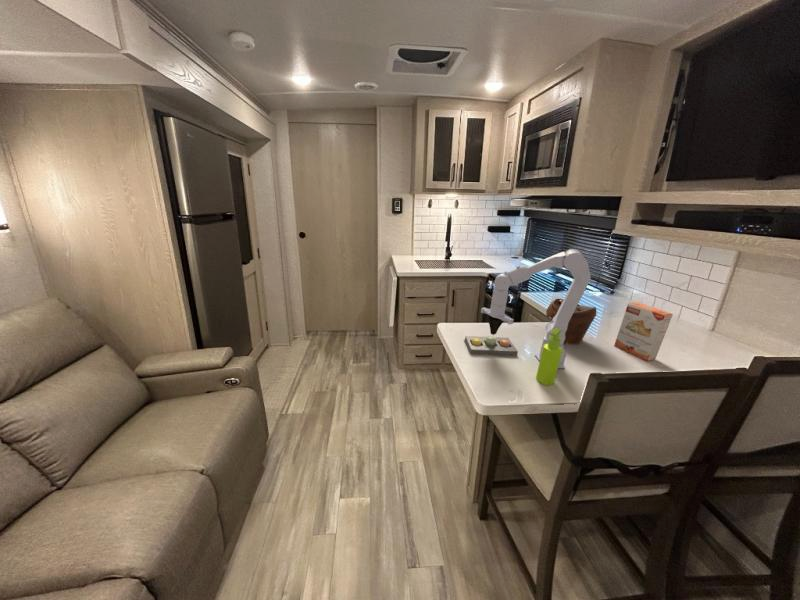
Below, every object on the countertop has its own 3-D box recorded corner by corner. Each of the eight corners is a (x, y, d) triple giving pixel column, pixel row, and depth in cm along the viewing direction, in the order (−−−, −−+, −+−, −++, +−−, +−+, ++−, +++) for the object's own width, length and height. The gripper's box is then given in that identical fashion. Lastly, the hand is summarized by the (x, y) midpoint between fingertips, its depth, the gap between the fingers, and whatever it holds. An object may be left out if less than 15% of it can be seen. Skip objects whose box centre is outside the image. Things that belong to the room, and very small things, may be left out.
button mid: (496, 346, 126) (497, 340, 125) (486, 346, 126) (487, 340, 125) (493, 342, 130) (494, 336, 129) (484, 341, 130) (485, 335, 129)
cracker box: (613, 346, 135) (627, 302, 128) (621, 344, 138) (636, 301, 130) (647, 362, 123) (664, 314, 116) (656, 359, 125) (673, 313, 118)
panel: (517, 355, 123) (517, 351, 122) (470, 353, 123) (471, 349, 122) (507, 341, 134) (508, 337, 134) (464, 340, 134) (465, 335, 133)
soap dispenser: (532, 380, 107) (543, 329, 100) (539, 373, 111) (551, 324, 104) (549, 388, 103) (562, 336, 96) (556, 380, 107) (569, 330, 101)
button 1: (481, 349, 126) (482, 342, 125) (472, 348, 126) (473, 342, 125) (479, 344, 130) (480, 338, 129) (470, 344, 130) (471, 337, 129)
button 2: (510, 350, 127) (511, 343, 126) (500, 349, 127) (501, 343, 126) (506, 345, 130) (508, 339, 129) (497, 345, 130) (498, 339, 129)
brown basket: (539, 325, 152) (547, 292, 146) (584, 333, 146) (594, 299, 140) (543, 341, 137) (552, 305, 130) (592, 351, 131) (604, 313, 124)
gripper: (520, 307, 118) (514, 338, 123) (490, 296, 129) (485, 325, 134) (509, 310, 114) (503, 342, 119) (479, 299, 125) (475, 328, 130)
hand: (493, 333), depth 126 cm, fingers closed
